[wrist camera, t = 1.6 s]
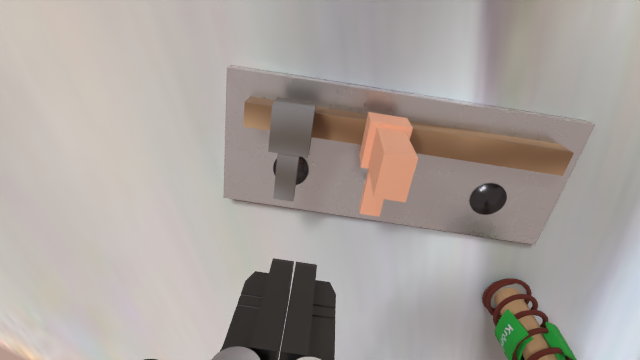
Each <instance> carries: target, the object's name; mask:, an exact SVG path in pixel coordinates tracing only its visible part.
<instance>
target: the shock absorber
mask: <svg viewBox="0 0 640 360" xmlns="http://www.w3.org/2000/svg"><path fill="white" fill-rule="evenodd" d="M529 301H531V302H532V304H533V305H532V308H531V309H529V308H528V306H527V304H528V303H529ZM483 303H484V306H485V307H486V308H487V309H488V311H489V313H490V314H491V315H492V316H493V321H494V324H495V326H496V329H495V335H496V337H497V339H498V341H499V343H500V345H501V347H502V349H503V351H504V353H505V355H506V356H507V358H508V360H577V359H576V358H575V356H574V354H573V353H572V351H571V349H570V348H569V346H568V344H567V343H566V341H565V339H564V338H563V336H562V334H561V333H560V331H559V329H558V328H557V327H556V326H555V325H553V324H551V323H549V322H548V317H547V316H546V315H545V314H544V313H543V312H541V311H538V310H537V308H538V303H537V301H536V299H535V298H534V297H532V296H531V290H530V287H529V286H528V285H527V284H526V283H524V282H523V281H521V280H518V279H503V280H500V281H497V282H494V283H493V284H492V285H490V286H489V287H488V288H487V289H486V290H485V292H484V294H483ZM499 314H500V315H499ZM501 315H502V316H501ZM533 315H537V316H540V317H541V318H542V320H543V322H542V324H541V325H540V326H539V324H538V322H537V321H536V319H535V317H534V316H533ZM498 319H499V320H498ZM546 327H547V328H546Z"/></svg>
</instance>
